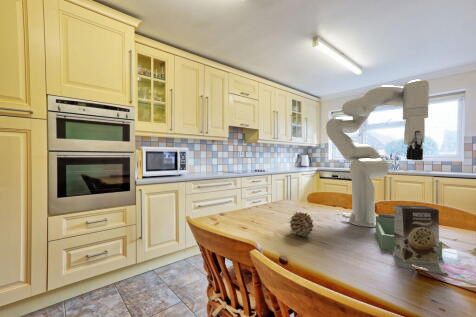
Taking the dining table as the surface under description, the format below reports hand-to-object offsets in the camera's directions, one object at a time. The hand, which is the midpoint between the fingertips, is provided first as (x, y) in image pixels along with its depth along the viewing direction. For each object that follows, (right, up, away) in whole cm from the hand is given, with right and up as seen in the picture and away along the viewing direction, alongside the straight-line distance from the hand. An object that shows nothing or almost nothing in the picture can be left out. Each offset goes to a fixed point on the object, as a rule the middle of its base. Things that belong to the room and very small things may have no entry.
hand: (414, 159), depth 84 cm
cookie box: (-13, -31, -17) cm, 37 cm away
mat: (-13, -31, -17) cm, 38 cm away
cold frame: (-5, -31, -2) cm, 31 cm away
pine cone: (-41, -31, +10) cm, 52 cm away
